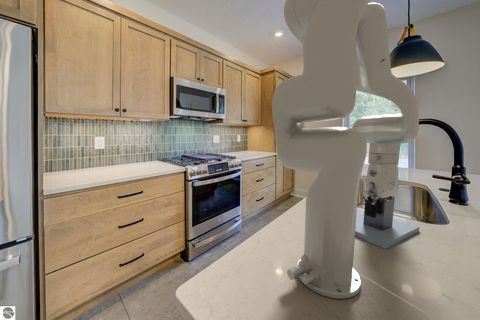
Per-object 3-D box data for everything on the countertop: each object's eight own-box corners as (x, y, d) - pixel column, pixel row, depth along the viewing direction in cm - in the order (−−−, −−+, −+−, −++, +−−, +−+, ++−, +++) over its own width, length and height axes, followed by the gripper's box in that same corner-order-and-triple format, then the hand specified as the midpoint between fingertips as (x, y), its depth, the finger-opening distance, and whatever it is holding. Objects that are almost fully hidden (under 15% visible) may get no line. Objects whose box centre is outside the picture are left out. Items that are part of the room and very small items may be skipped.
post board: (385, 249, 52) (387, 225, 52) (337, 227, 65) (338, 208, 64) (419, 231, 62) (421, 211, 61) (371, 215, 74) (372, 198, 73)
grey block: (382, 230, 59) (385, 201, 58) (363, 223, 64) (365, 196, 63) (392, 226, 62) (394, 198, 61) (373, 220, 67) (375, 194, 66)
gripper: (381, 162, 53) (376, 223, 55) (411, 158, 61) (406, 211, 64) (353, 159, 60) (350, 214, 62) (384, 156, 68) (380, 204, 70)
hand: (378, 213), depth 63 cm, fingers open, 9 cm apart
